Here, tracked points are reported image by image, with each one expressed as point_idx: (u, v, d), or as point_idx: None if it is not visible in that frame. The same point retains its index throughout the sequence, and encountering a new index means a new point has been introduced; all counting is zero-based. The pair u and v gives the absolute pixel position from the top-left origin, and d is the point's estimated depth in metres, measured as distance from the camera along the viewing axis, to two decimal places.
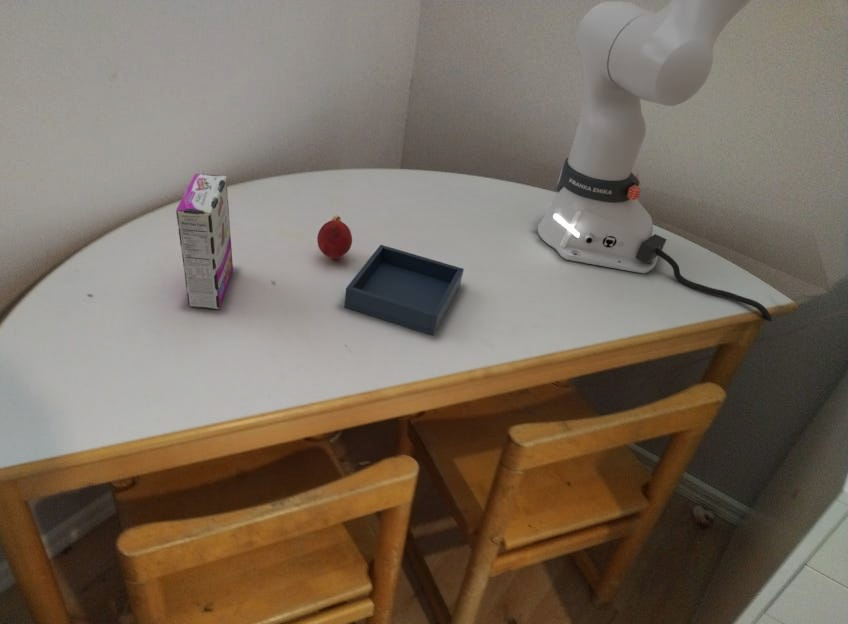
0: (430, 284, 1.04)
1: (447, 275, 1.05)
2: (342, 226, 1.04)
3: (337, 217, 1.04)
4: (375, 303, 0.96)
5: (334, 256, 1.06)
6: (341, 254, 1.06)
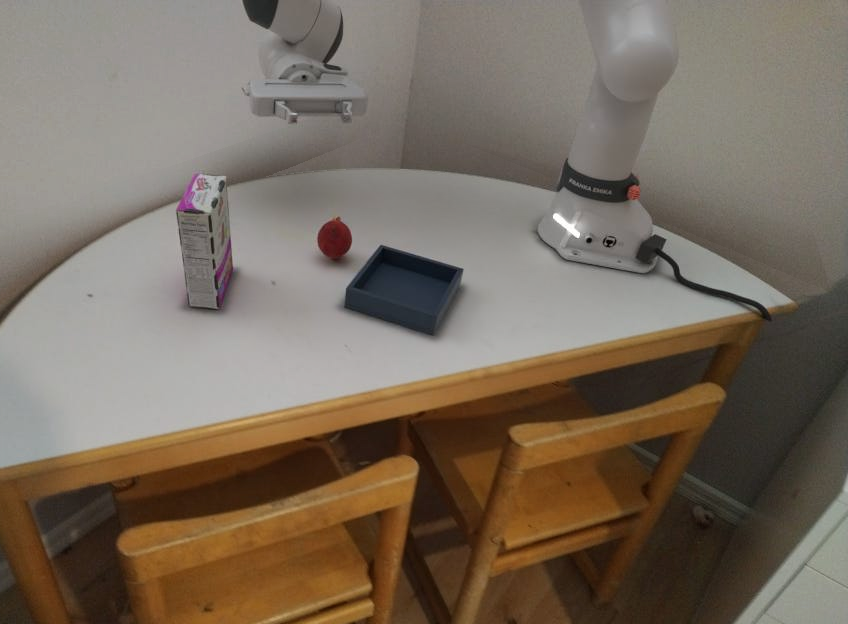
0: (430, 284, 1.04)
1: (447, 275, 1.05)
2: (342, 226, 1.04)
3: (337, 217, 1.04)
4: (375, 303, 0.96)
5: (334, 256, 1.06)
6: (341, 254, 1.06)
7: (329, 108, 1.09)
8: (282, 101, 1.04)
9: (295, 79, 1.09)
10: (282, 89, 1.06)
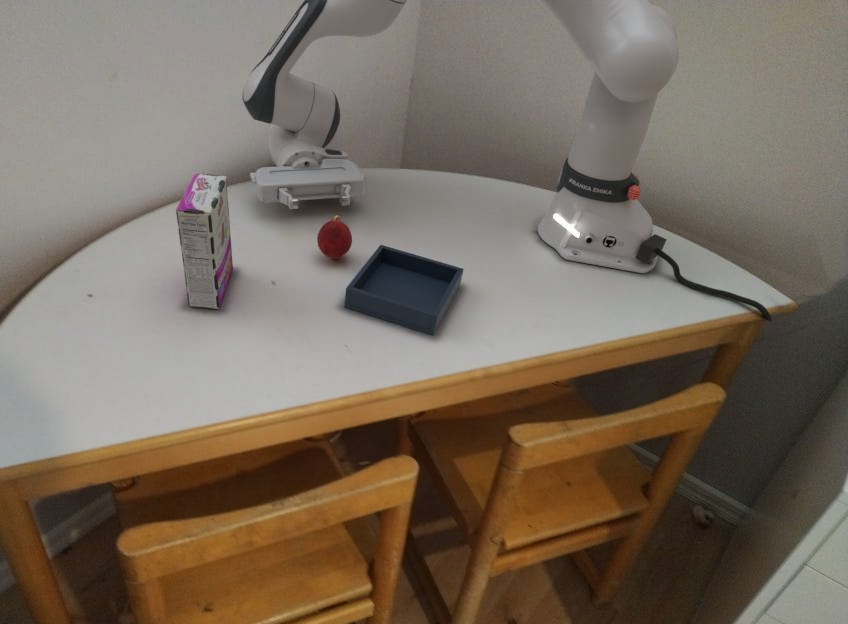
0: (430, 284, 1.04)
1: (447, 275, 1.05)
2: (342, 226, 1.04)
3: (337, 217, 1.04)
4: (375, 303, 0.96)
5: (334, 256, 1.06)
6: (341, 254, 1.06)
7: (329, 191, 1.17)
8: (285, 188, 1.13)
9: (298, 166, 1.18)
10: (285, 177, 1.15)
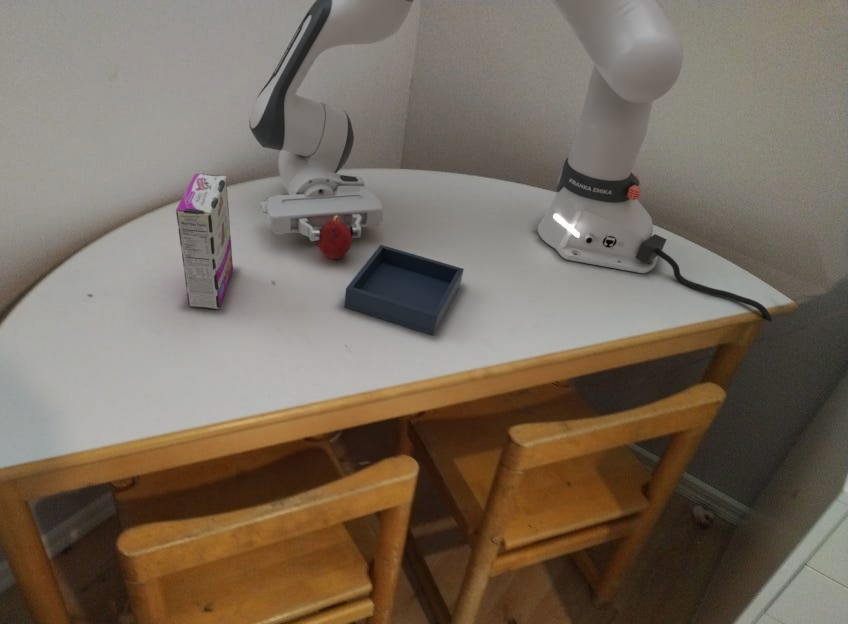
0: (430, 284, 1.04)
1: (447, 275, 1.05)
2: (342, 226, 1.04)
3: (337, 217, 1.04)
4: (375, 303, 0.96)
5: (334, 256, 1.06)
6: (341, 254, 1.06)
7: (345, 221, 1.10)
8: (306, 218, 1.06)
9: (312, 194, 1.10)
10: (299, 206, 1.08)
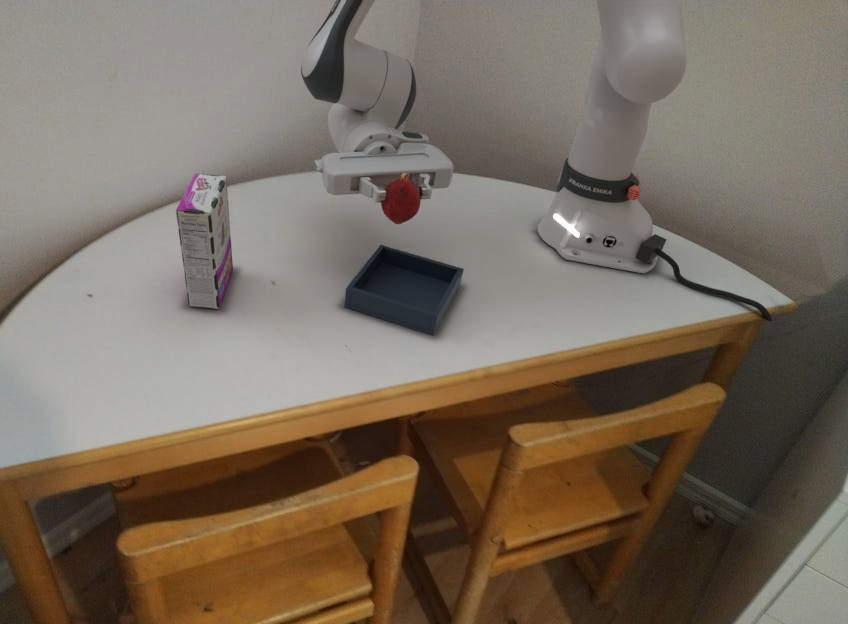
0: (430, 284, 1.04)
1: (447, 275, 1.05)
2: (411, 185, 0.91)
3: (405, 175, 0.91)
4: (375, 303, 0.96)
5: (400, 220, 0.93)
6: (408, 218, 0.93)
7: None
8: (368, 177, 0.94)
9: (372, 151, 0.98)
10: (359, 164, 0.95)
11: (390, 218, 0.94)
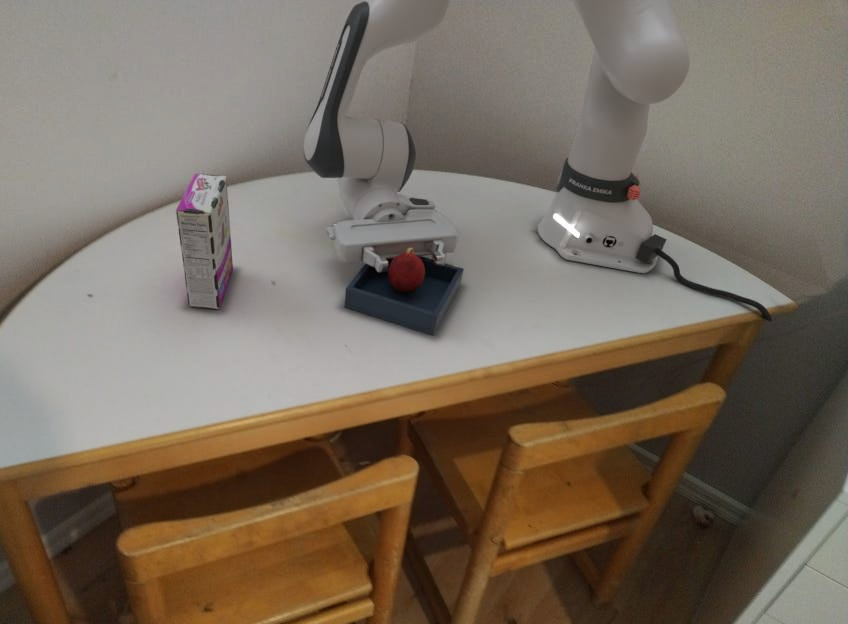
0: (430, 284, 1.04)
1: (447, 275, 1.05)
2: (416, 259, 0.97)
3: (411, 249, 0.97)
4: (375, 303, 0.96)
5: (406, 291, 0.99)
6: (414, 288, 0.99)
7: (418, 248, 1.03)
8: (371, 246, 0.98)
9: (382, 219, 1.03)
10: (370, 233, 1.00)
11: (396, 288, 0.99)
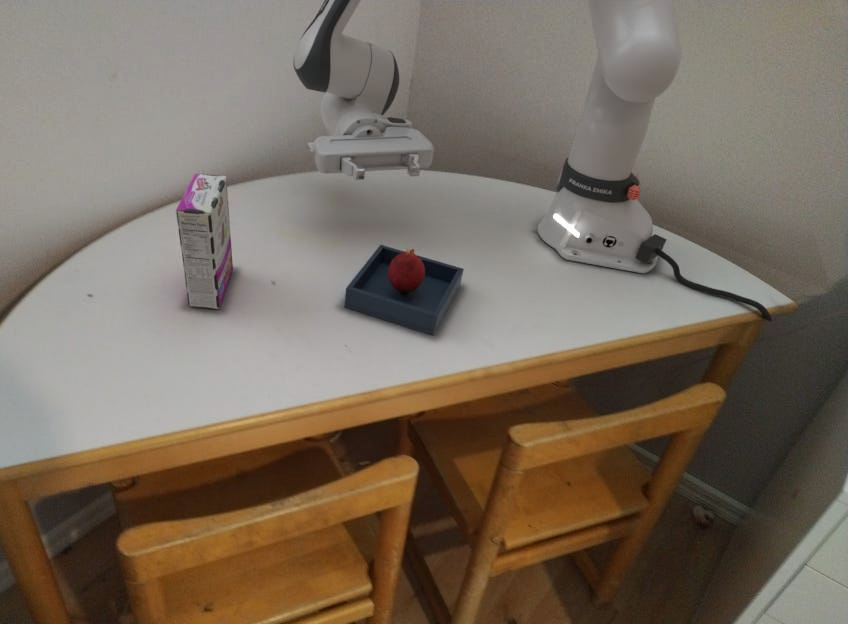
0: (430, 284, 1.04)
1: (447, 275, 1.05)
2: (416, 259, 0.97)
3: (411, 249, 0.97)
4: (375, 303, 0.96)
5: (406, 291, 0.99)
6: (414, 288, 0.99)
7: (395, 162, 1.07)
8: (349, 157, 1.03)
9: (360, 134, 1.08)
10: (348, 145, 1.05)
11: (396, 288, 0.99)
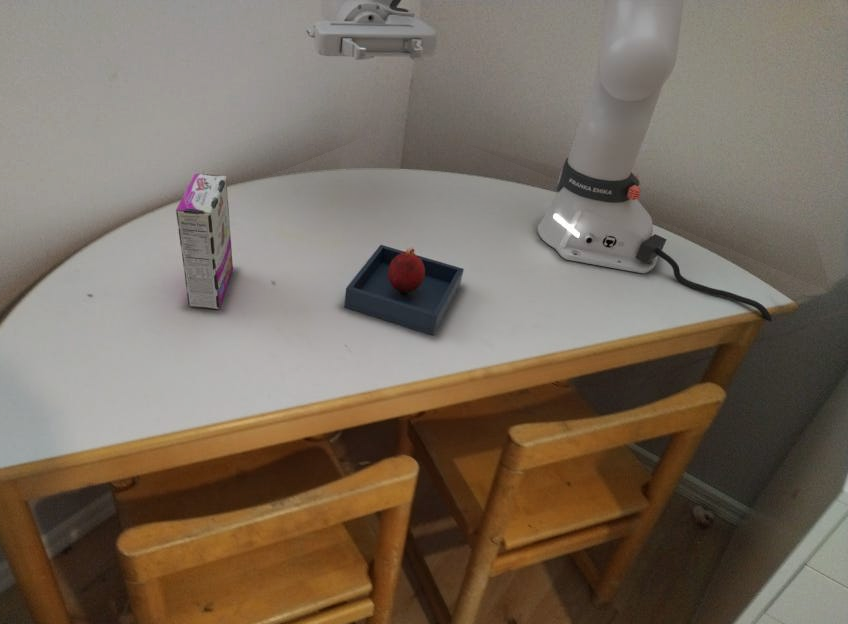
0: (430, 284, 1.04)
1: (447, 275, 1.05)
2: (416, 259, 0.97)
3: (411, 249, 0.97)
4: (375, 303, 0.96)
5: (406, 291, 0.99)
6: (414, 288, 0.99)
7: (397, 48, 1.04)
8: (350, 38, 1.00)
9: (361, 20, 1.04)
10: (349, 28, 1.01)
11: (396, 288, 0.99)
